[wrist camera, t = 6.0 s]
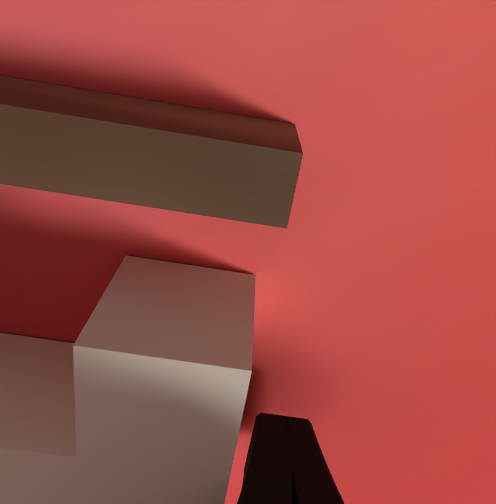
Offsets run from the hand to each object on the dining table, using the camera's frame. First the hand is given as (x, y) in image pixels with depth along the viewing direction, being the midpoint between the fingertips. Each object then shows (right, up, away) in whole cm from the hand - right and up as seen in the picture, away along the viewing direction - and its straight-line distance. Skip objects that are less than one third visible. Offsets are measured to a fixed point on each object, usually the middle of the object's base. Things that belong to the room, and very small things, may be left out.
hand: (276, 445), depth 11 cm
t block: (-5, +1, +1) cm, 5 cm away
